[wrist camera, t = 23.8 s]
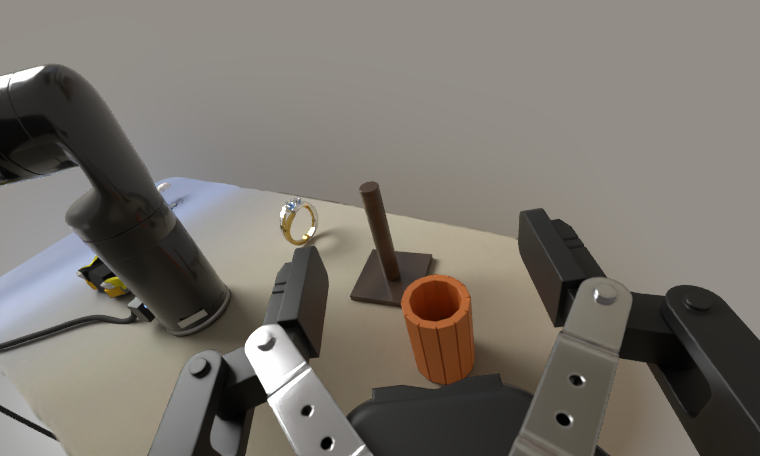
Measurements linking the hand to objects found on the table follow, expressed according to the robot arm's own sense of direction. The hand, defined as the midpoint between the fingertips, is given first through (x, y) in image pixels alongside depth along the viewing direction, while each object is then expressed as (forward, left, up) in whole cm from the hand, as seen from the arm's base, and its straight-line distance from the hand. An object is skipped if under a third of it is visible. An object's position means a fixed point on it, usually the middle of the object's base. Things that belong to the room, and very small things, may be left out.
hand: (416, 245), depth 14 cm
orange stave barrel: (-3, +10, -26) cm, 28 cm away
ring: (-29, +26, -26) cm, 47 cm away
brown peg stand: (-12, +20, -26) cm, 35 cm away
